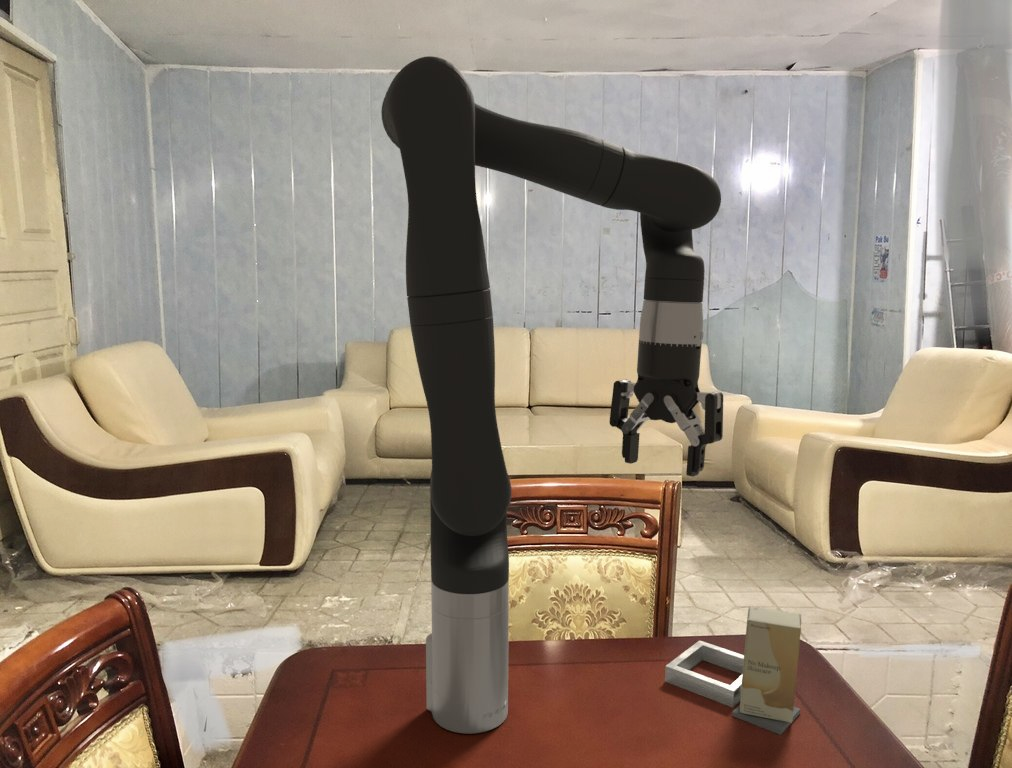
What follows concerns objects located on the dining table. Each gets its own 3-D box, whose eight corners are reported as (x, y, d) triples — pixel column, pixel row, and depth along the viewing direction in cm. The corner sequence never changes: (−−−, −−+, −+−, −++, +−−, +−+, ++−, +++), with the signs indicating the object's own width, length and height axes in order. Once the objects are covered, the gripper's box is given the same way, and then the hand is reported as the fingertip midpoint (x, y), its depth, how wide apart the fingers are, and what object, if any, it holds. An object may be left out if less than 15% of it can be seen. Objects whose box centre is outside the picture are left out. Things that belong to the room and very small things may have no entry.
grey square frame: (665, 681, 106) (665, 665, 105) (698, 655, 113) (699, 640, 113) (733, 707, 100) (733, 691, 99) (764, 678, 107) (765, 662, 106)
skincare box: (739, 714, 97) (744, 618, 95) (740, 696, 101) (746, 604, 99) (795, 724, 95) (802, 627, 93) (795, 705, 99) (801, 611, 97)
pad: (732, 715, 98) (732, 711, 98) (753, 696, 102) (753, 691, 102) (780, 734, 94) (781, 730, 94) (800, 713, 99) (800, 708, 98)
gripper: (603, 335, 99) (596, 463, 101) (711, 345, 91) (701, 485, 93) (634, 333, 105) (626, 454, 107) (738, 342, 96) (728, 474, 99)
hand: (661, 468), depth 100 cm, fingers open, 8 cm apart
